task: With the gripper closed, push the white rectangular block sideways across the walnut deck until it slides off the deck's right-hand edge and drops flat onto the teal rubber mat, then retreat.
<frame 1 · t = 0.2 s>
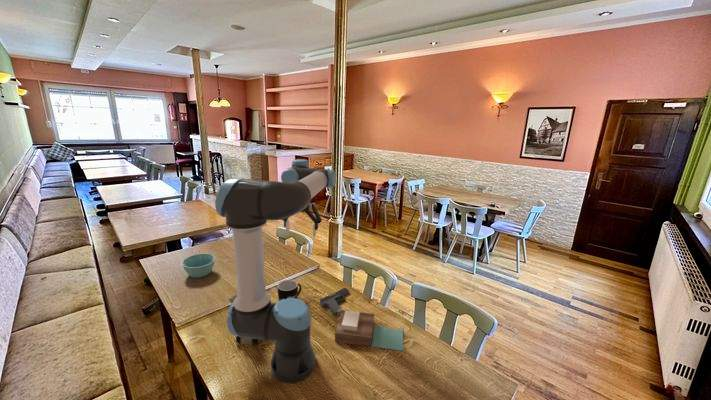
hand: (301, 234, 141), 28 cm above the table, fingers open, 13 cm apart
toy fire truck: (250, 332, 114), on the table
mug: (290, 303, 133), on the table
mat: (387, 337, 114), on the table
white rectangular block: (350, 322, 116), point 4 cm above the table, touching deck
deck: (355, 331, 117), on the table
bowl: (200, 274, 154), on the table
handgun: (339, 303, 135), on the table
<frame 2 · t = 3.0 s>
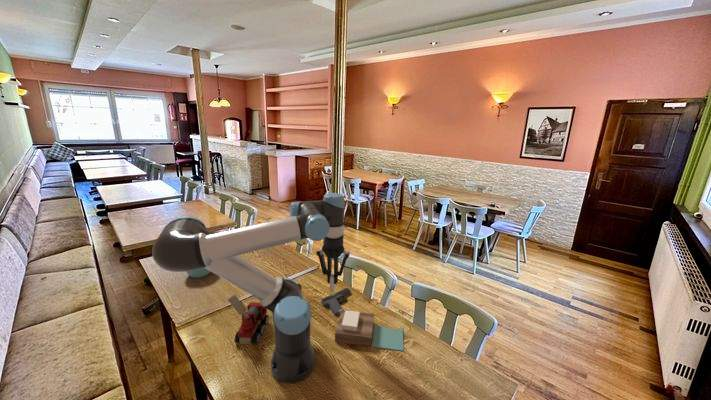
hand: (332, 290, 113), 18 cm above the table, fingers closed
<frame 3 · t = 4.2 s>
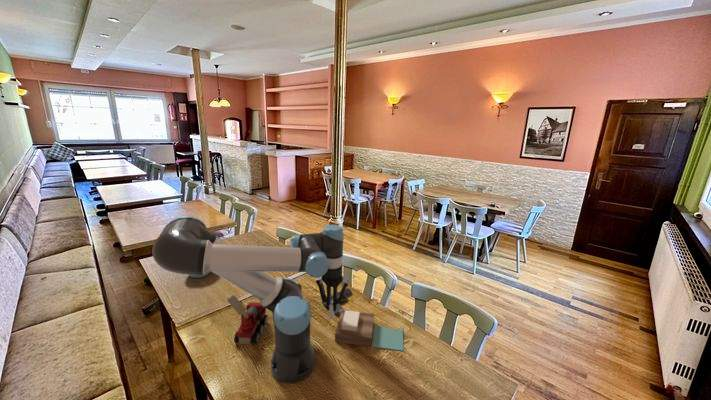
hand: (331, 316, 116), 5 cm above the table, fingers closed
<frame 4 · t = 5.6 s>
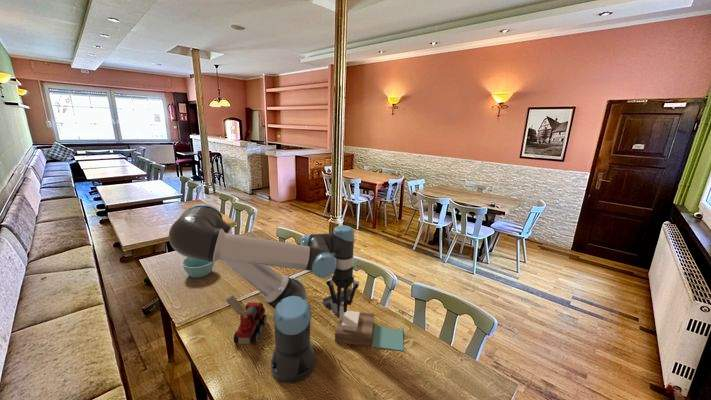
hand: (341, 317, 116), 6 cm above the table, fingers closed
white rectangular block: (350, 322, 116), point 4 cm above the table, touching deck, gripper
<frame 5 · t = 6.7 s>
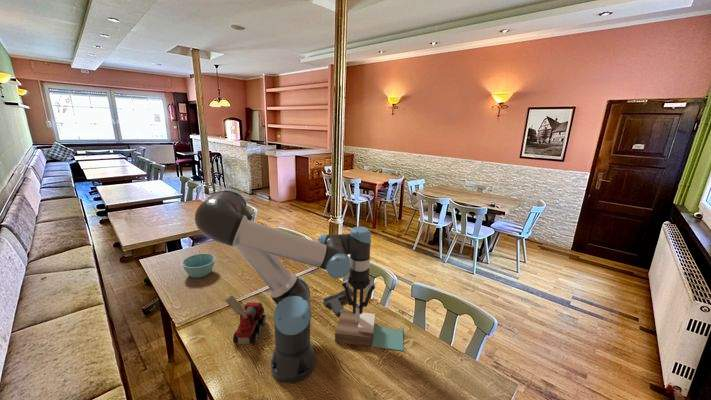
hand: (357, 319, 115), 6 cm above the table, fingers closed
white rectangular block: (366, 324, 115), point 4 cm above the table
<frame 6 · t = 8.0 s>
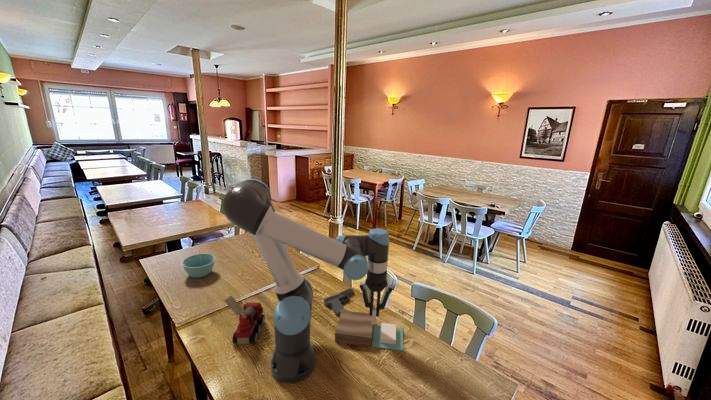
hand: (373, 322, 114), 6 cm above the table, fingers closed
white rectangular block: (388, 331, 114), point 2 cm above the table, tilted 180°, touching mat
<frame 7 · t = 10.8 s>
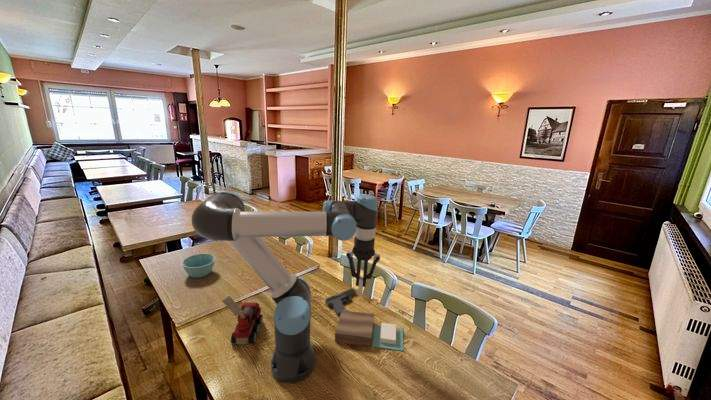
hand: (360, 293, 111), 18 cm above the table, fingers closed
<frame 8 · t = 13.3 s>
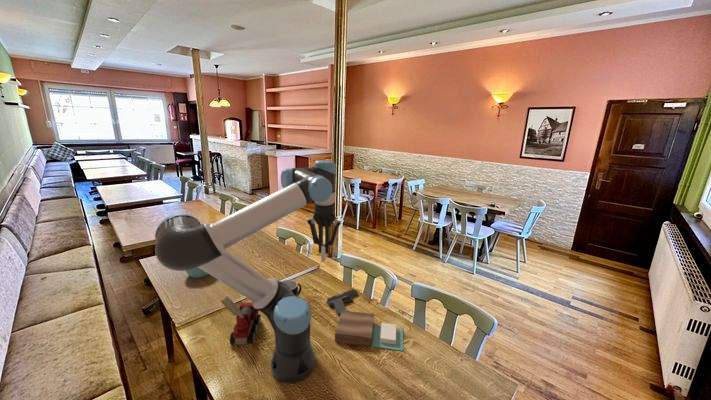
hand: (323, 260, 112), 29 cm above the table, fingers closed
at the end: white rectangular block point 2.3 cm above the table; white rectangular block inside the target area on the mat (1.0 cm from its centre), point 2.3 cm above the mat's base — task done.
